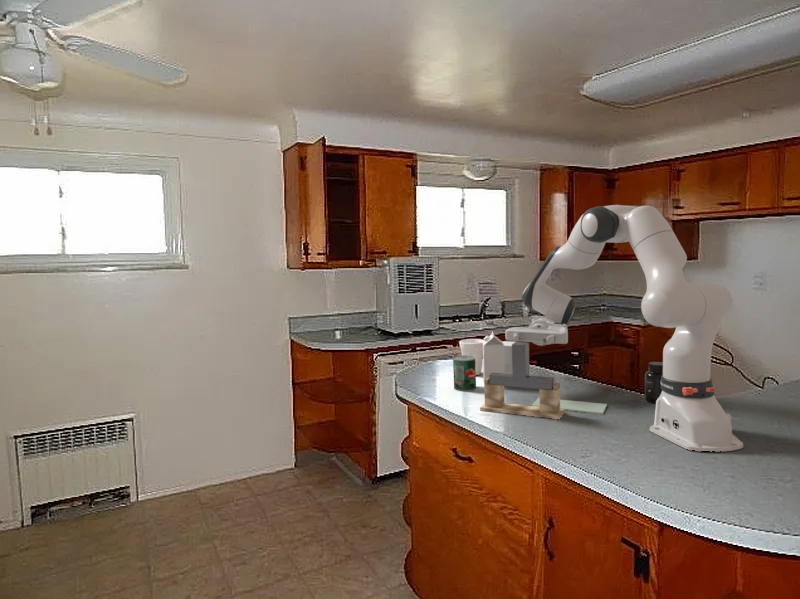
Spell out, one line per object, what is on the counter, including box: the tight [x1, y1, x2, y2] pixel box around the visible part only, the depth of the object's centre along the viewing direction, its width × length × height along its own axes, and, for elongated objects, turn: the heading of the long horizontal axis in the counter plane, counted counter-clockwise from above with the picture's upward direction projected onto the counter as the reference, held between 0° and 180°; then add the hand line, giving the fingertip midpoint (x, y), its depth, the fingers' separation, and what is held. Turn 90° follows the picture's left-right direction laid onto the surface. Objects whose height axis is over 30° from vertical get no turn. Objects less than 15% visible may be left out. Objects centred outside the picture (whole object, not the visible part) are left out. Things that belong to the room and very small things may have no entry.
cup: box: [458, 338, 484, 376], centre depth 213 cm, size 10×10×13 cm
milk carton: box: [482, 330, 505, 380], centre depth 197 cm, size 7×7×19 cm
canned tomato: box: [452, 355, 477, 392], centre depth 194 cm, size 8×8×11 cm
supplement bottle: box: [644, 361, 663, 405], centre depth 169 cm, size 7×7×12 cm
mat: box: [530, 396, 608, 415], centre depth 169 cm, size 21×9×1 cm, turn 62°
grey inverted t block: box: [489, 341, 555, 390], centre depth 164 cm, size 19×4×13 cm, turn 62°
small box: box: [501, 340, 516, 374], centre depth 206 cm, size 8×6×13 cm
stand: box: [479, 377, 566, 421], centre depth 165 cm, size 24×7×10 cm, turn 62°
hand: (530, 339), depth 174 cm, fingers open, 8 cm apart
